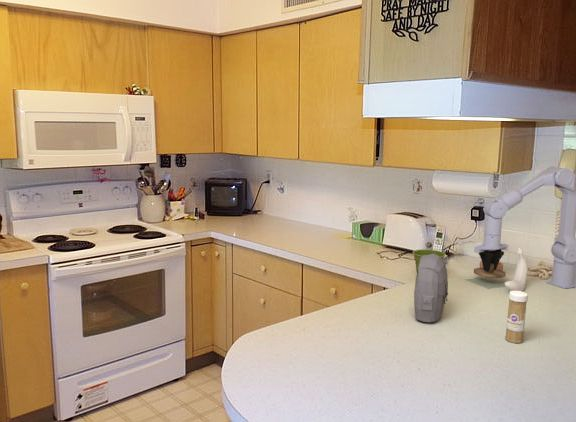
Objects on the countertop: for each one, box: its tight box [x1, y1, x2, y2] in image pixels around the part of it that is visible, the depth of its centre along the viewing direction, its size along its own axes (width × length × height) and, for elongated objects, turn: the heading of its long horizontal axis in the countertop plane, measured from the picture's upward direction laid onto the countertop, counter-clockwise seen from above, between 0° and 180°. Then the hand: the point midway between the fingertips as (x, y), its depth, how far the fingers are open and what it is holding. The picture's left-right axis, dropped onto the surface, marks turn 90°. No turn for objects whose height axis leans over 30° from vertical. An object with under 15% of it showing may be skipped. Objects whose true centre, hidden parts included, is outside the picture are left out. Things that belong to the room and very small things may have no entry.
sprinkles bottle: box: [504, 291, 529, 344], centre depth 138 cm, size 5×5×14 cm
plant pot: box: [412, 248, 447, 272], centre depth 190 cm, size 12×12×11 cm
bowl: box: [479, 260, 504, 271], centre depth 205 cm, size 8×8×4 cm
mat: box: [464, 276, 506, 290], centre depth 191 cm, size 12×12×1 cm
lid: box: [473, 263, 507, 279], centre depth 190 cm, size 11×11×4 cm
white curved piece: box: [504, 247, 529, 292], centre depth 180 cm, size 5×19×15 cm, turn 146°
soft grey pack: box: [413, 254, 449, 323], centre depth 152 cm, size 15×8×20 cm, turn 152°
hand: (489, 269), depth 190 cm, fingers closed on lid, 3 cm apart
